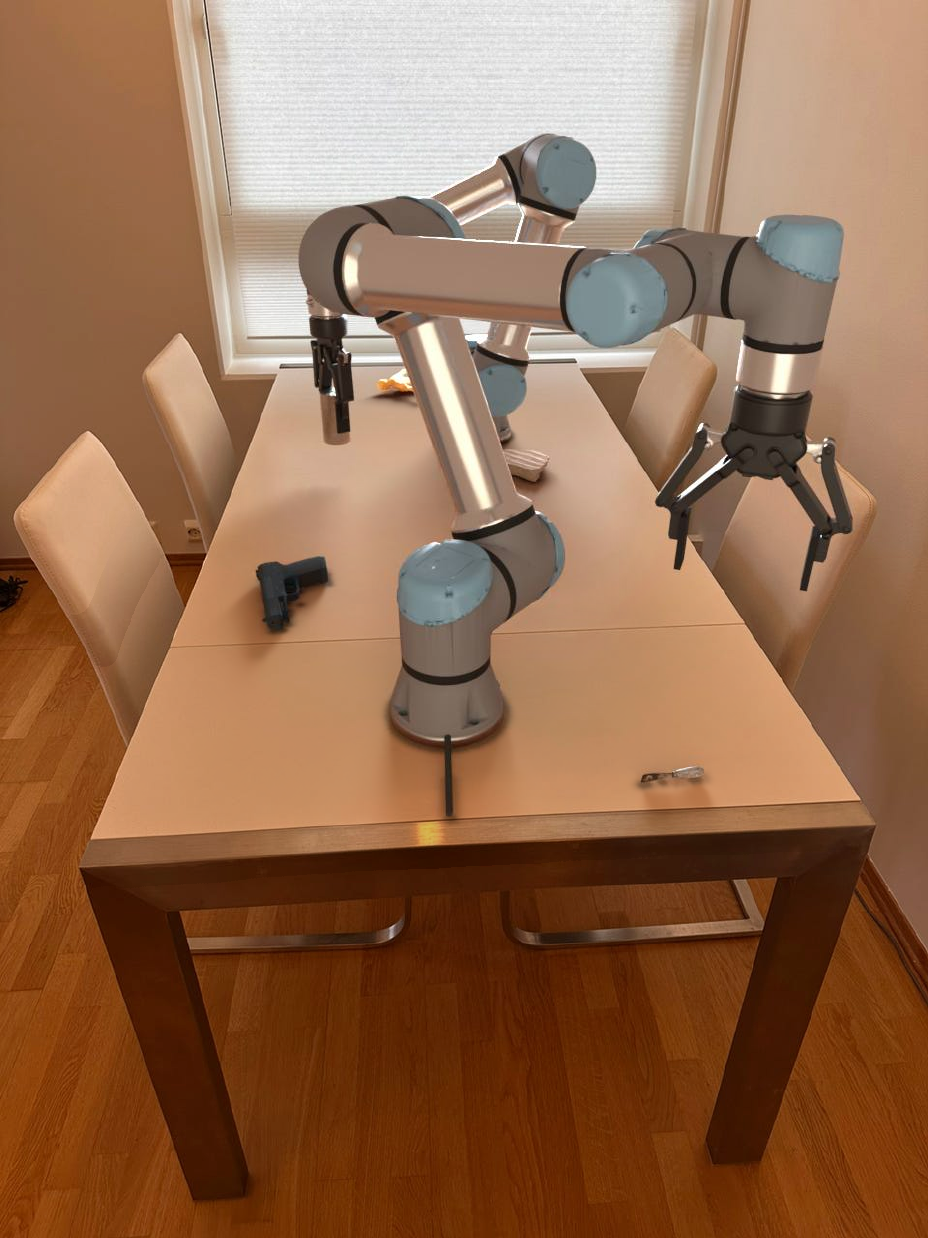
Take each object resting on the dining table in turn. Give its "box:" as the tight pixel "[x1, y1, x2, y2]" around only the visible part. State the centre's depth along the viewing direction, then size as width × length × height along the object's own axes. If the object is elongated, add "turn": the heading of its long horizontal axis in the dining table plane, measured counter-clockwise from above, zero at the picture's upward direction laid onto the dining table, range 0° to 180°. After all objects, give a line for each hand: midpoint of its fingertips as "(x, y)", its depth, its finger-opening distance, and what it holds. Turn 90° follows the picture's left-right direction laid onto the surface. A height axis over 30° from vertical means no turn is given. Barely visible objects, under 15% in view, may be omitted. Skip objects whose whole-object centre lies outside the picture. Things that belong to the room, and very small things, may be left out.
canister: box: [318, 386, 352, 446], centre depth 187 cm, size 6×6×11 cm
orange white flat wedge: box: [377, 367, 413, 392], centre depth 240 cm, size 20×20×4 cm
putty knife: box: [640, 765, 705, 784], centre depth 109 cm, size 1×8×2 cm, turn 103°
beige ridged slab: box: [502, 448, 550, 483], centre depth 192 cm, size 13×12×2 cm
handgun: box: [255, 555, 329, 631], centre depth 146 cm, size 3×17×12 cm
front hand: (739, 574), depth 100 cm, fingers open, 13 cm apart
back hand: (336, 427), depth 188 cm, fingers closed on canister, 6 cm apart
